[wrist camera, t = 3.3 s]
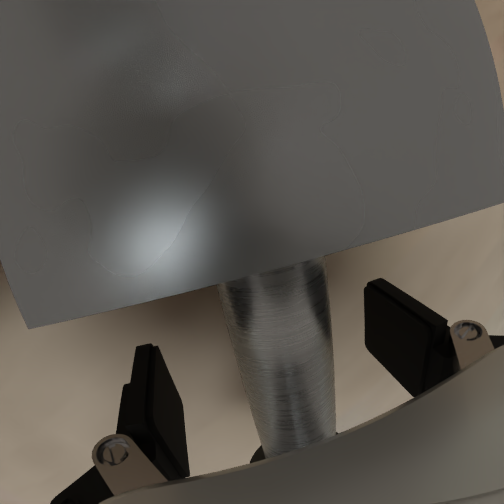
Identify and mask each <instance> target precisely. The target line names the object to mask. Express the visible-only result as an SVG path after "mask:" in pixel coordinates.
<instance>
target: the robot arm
mask: <svg viewBox="0 0 504 504" xmlns="http://www.w3.org/2000/svg"><path fill="white" fill-rule="evenodd" d="M364 312H365V346H366V348H367V350H368V351H369V352H370V353H371V354H372V355H373V356H374V357H375V358H376V359H377V360H378V361H379V362H380V363H381V364H382V365H383V366H384V367H385V368H386V369H387V370H388V371H389V372H390V373H391V374H392V376H393V377H394V378H395V379H396V380H397V381H398V382H399V383H400V384H401V385H402V386H403V387H404V388H405V389H406V390H407V391H408V392H409V393H410V394H411V395H412V396H413V397H415V398H413V399H411V400H409V401H407V402H405V403H403V404H401V405H400V406H398V407H396V408H394V409H392V410H390V411H388V412H386V413H384V414H382V415H379V416H377V417H375V418H373V419H371V420H369V421H367V422H364V423H362V424H360V425H358V426H355V427H353V428H351V429H349V430H346V431H344V432H341V433H339V434H337V435H334V436H332V437H329V438H326V439H324V440H321V441H319V442H316V443H313V444H310V445H308V446H305V447H302V448H299V449H296V450H293V451H290V452H287V453H284V454H281V455H278V456H274V457H271V458H268V459H264V460H261V461H257V462H254V463H250V464H246V465H242V466H238V467H234V468H230V469H226V470H222V471H218V472H213V473H209V474H204V475H199V476H194V477H189V476H190V470H189V462H188V453H187V444H186V434H185V423H184V411H183V404H182V400H181V398H180V396H179V393H178V391H177V389H176V387H175V384H174V382H173V380H172V378H171V375H170V373H169V371H168V368H167V366H166V364H165V361H164V359H163V356H162V354H161V352H160V349H159V347H158V346H154V347H153V345H152V344H151V343H150V344H145V345H141V346H137V347H136V351H135V357H134V363H133V369H132V375H131V382H130V383H129V384H125V385H124V386H123V390H122V397H121V403H120V409H119V416H118V423H117V430H116V434H113V435H109V436H106V437H104V438H103V439H101V440H100V441H98V443H97V444H96V445H95V446H94V449H93V451H92V459H93V462H94V464H95V466H93V467H92V468H91V469H90V470H89V471H87V472H86V473H85V474H84V475H82V476H81V477H80V478H79V479H77V480H76V481H75V482H74V483H72V484H71V485H70V486H69V487H67V488H66V489H65V490H63V491H62V492H61V493H60V494H58V495H57V496H56V497H55V498H54V499H53V500H52V501H51V503H50V504H504V336H492V335H488V333H487V331H486V329H485V328H484V326H483V325H481V324H480V323H478V322H476V321H472V320H462V321H458V322H456V323H454V324H453V325H452V326H451V328H450V327H449V326H447V322H448V320H446V319H445V318H443V317H442V316H440V315H439V314H437V313H436V312H434V311H433V310H431V309H430V308H428V307H427V306H425V305H424V304H422V303H420V302H419V301H417V300H416V299H414V298H413V297H411V296H410V295H408V294H406V293H405V292H403V291H402V290H400V289H399V288H397V287H395V286H394V285H392V284H391V283H389V282H387V281H386V280H384V279H382V278H379V279H376V280H373V281H370V282H368V283H367V286H366V287H365V288H364ZM185 477H189V478H185Z"/></svg>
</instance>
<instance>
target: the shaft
mask: <svg viewBox="0 0 504 504" xmlns="http://www.w3.org/2000/svg"><path fill="white" fill-rule="evenodd" d="M216 285H217V289H218V293H219V297H220V301H221V304H222V308H223V312H224V316H225V320H226V323H227V327H228V331H229V335H230V338H231V342H232V346H233V349H234V353H235V357H236V360H237V364H238V367H239V371H240V374H241V378H242V381H243V385H244V388H245V392H246V395H247V398H248V402H249V405H250V409H251V412H252V415H253V419H254V422H255V425H256V428H257V432H258V435H259V438H260V441H261V446H260V447H259V448H258V449H257V451H256V452H255V453H254V455H253V457H252V459H251V461H250V463H254V462H257V461H261V460H264V459H268V458H271V457H274V456H278V455H281V454H284V453H287V452H290V451H293V450H296V449H299V448H302V447H305V446H308V445H310V444H313V443H316V442H319V441H321V440H324V439H326V438H329V437H332V436H334V435H337V434H339V433H337V432H336V409H335V380H334V360H333V343H332V328H331V315H330V303H329V292H328V282H327V272H326V262H325V256H321V257H318V258H314V259H310V260H307V261H303V262H299V263H296V264H292V265H288V266H285V267H281V268H277V269H273V270H270V271H266V272H262V273H258V274H255V275H251V276H247V277H243V278H239V279H235V280H232V281H228V282H224V283H220V284H216Z"/></svg>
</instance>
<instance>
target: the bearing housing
mask: <svg viewBox="0 0 504 504" xmlns="http://www.w3.org/2000/svg"><path fill="white" fill-rule="evenodd" d="M501 203H504V110H503V104H502V98H501V93H500V87H499V82H498V78H497V73H496V69H495V65H494V61H493V57H492V53H491V49H490V46H489V42H488V39H487V35H486V32H485V29H484V26H483V23H482V20H481V17H480V14H479V11H478V9H477V6H476V3H475V1H474V0H0V260H1V263H2V266H3V269H4V272H5V275H6V277H7V280H8V283H9V285H10V288H11V290H12V293H13V295H14V298H15V300H16V303H17V305H18V307H19V310H20V312H21V314H22V316H23V319H24V321H25V323H26V325H27V327H28V329H32V328H36V327H41V326H45V325H50V324H54V323H59V322H63V321H68V320H72V319H76V318H81V317H85V316H89V315H94V314H98V313H102V312H107V311H111V310H115V309H119V308H123V307H128V306H132V305H136V304H140V303H144V302H148V301H152V300H156V299H160V298H165V297H169V296H173V295H177V294H181V293H185V292H189V291H193V290H197V289H200V288H204V287H208V286H212V285H216V284H220V283H224V282H228V281H232V280H235V279H239V278H243V277H247V276H251V275H255V274H258V273H262V272H266V271H270V270H273V269H277V268H281V267H285V266H288V265H292V264H296V263H299V262H303V261H307V260H310V259H314V258H318V257H321V256H325V255H328V254H332V253H336V252H339V251H343V250H346V249H350V248H353V247H357V246H361V245H364V244H368V243H371V242H375V241H378V240H381V239H385V238H388V237H392V236H395V235H399V234H402V233H406V232H409V231H412V230H416V229H419V228H423V227H426V226H429V225H433V224H436V223H439V222H443V221H446V220H449V219H452V218H456V217H459V216H462V215H466V214H469V213H472V212H475V211H478V210H482V209H485V208H488V207H491V206H494V205H498V204H501Z"/></svg>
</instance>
